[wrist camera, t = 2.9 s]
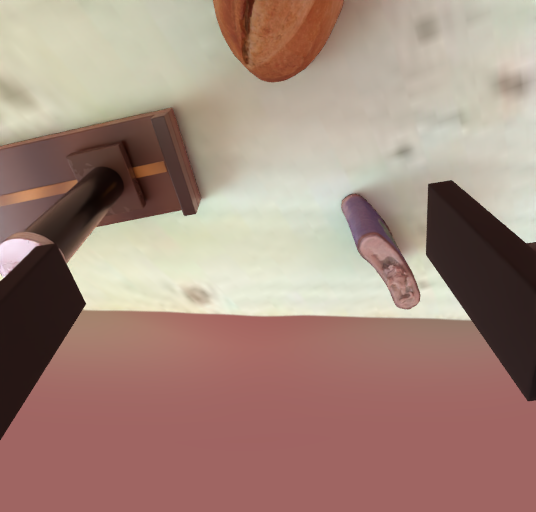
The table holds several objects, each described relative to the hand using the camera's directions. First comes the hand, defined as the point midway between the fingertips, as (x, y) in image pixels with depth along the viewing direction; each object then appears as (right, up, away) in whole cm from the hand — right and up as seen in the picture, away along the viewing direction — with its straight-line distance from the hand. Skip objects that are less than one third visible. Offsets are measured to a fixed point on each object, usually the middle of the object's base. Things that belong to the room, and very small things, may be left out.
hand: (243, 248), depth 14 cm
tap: (-16, +6, +23) cm, 29 cm away
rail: (-18, +7, +25) cm, 32 cm away
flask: (+12, +3, +28) cm, 31 cm away
